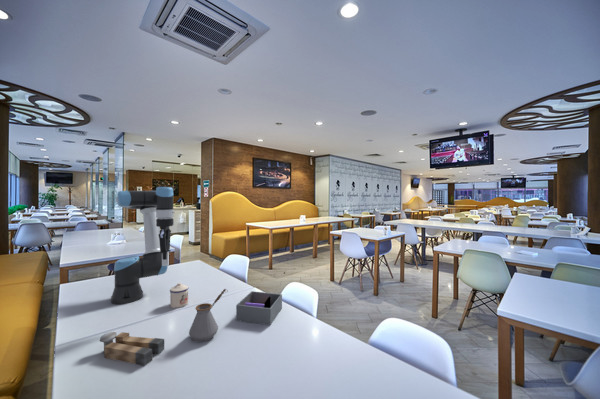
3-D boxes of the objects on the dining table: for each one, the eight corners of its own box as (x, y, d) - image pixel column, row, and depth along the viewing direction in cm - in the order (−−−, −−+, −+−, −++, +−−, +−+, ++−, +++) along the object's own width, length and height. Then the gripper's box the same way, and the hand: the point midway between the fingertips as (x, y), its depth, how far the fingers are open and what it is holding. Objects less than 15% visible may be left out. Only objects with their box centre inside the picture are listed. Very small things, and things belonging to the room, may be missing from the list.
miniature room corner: (266, 319, 120) (266, 305, 120) (242, 317, 122) (242, 303, 122) (273, 308, 132) (273, 295, 131) (251, 306, 134) (251, 293, 133)
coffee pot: (205, 347, 98) (205, 309, 97) (182, 341, 102) (182, 305, 101) (236, 321, 118) (236, 289, 118) (216, 317, 122) (216, 286, 121)
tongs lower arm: (96, 356, 92) (95, 344, 92) (109, 348, 97) (109, 336, 97) (144, 366, 87) (144, 353, 87) (156, 356, 92) (156, 344, 92)
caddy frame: (236, 320, 118) (236, 305, 118) (251, 304, 135) (251, 291, 135) (270, 325, 114) (270, 309, 114) (282, 308, 131) (282, 294, 131)
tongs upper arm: (96, 354, 93) (96, 338, 93) (110, 344, 99) (110, 330, 99) (153, 359, 90) (153, 343, 90) (164, 349, 96) (164, 334, 96)
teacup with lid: (182, 308, 130) (182, 286, 130) (166, 307, 131) (165, 285, 131) (194, 299, 142) (194, 279, 142) (179, 298, 143) (179, 278, 143)
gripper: (169, 219, 118) (170, 268, 119) (176, 216, 131) (176, 261, 131) (152, 219, 116) (152, 269, 117) (160, 217, 129) (160, 262, 130)
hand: (165, 265), depth 124 cm, fingers closed
